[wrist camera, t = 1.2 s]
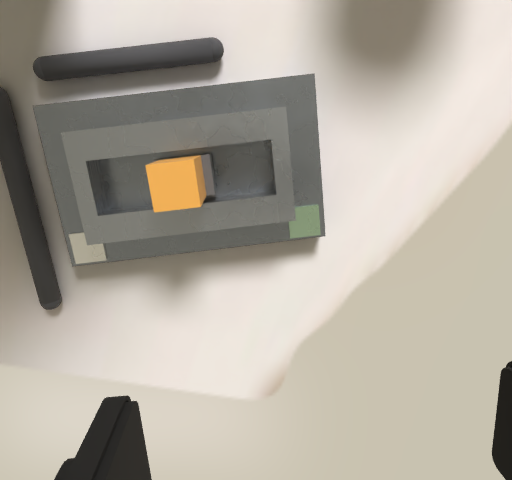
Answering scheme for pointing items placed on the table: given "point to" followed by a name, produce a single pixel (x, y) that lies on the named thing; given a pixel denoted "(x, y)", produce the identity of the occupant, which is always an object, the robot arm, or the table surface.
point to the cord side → (128, 59)
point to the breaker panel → (183, 144)
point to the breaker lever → (180, 181)
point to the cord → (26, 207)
